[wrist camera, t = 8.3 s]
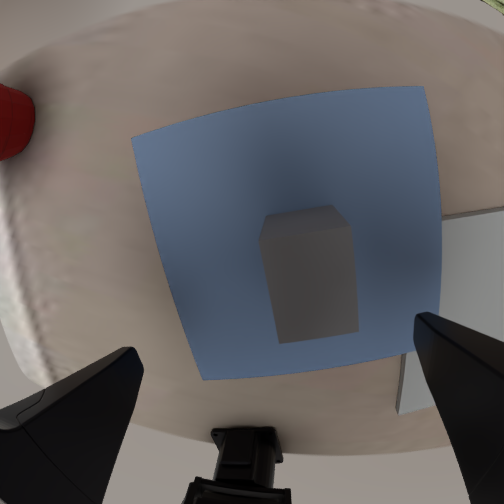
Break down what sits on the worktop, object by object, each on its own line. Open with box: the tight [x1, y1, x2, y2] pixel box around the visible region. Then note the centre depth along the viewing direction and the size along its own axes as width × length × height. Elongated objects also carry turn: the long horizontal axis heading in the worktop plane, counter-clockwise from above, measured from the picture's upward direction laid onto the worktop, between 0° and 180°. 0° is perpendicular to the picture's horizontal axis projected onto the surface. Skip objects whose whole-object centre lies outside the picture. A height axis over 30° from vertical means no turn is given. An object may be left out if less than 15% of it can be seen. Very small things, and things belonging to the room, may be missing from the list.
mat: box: [396, 207, 504, 415], centre depth 19 cm, size 18×18×1 cm
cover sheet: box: [131, 86, 442, 380], centre depth 12 cm, size 14×14×5 cm
